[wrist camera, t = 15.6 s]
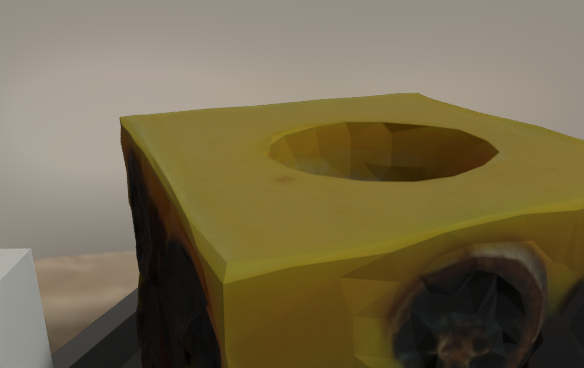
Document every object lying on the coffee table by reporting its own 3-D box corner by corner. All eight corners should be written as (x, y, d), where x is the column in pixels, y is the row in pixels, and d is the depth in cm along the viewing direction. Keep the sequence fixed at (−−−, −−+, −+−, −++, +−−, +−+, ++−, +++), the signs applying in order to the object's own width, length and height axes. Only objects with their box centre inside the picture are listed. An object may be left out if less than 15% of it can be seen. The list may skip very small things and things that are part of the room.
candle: (142, 405, 19) (105, 114, 15) (396, 334, 22) (411, 87, 19) (228, 783, 10) (184, 283, 6) (629, 561, 13) (734, 170, 10)
